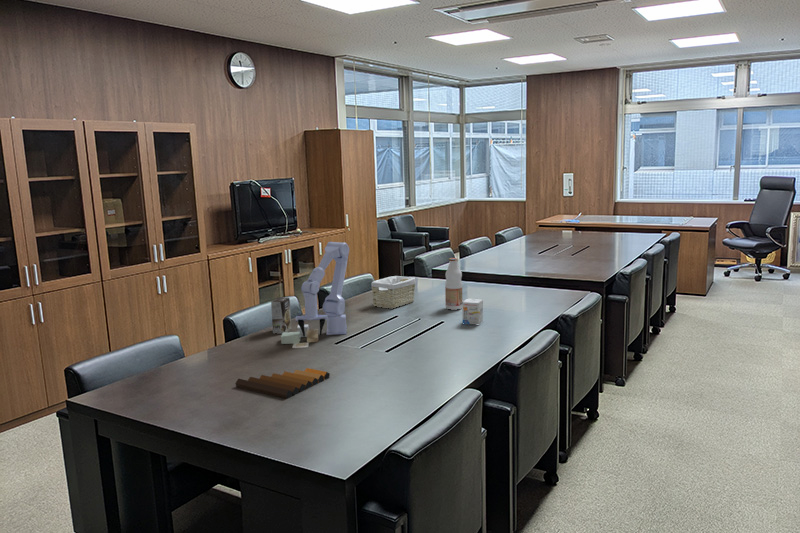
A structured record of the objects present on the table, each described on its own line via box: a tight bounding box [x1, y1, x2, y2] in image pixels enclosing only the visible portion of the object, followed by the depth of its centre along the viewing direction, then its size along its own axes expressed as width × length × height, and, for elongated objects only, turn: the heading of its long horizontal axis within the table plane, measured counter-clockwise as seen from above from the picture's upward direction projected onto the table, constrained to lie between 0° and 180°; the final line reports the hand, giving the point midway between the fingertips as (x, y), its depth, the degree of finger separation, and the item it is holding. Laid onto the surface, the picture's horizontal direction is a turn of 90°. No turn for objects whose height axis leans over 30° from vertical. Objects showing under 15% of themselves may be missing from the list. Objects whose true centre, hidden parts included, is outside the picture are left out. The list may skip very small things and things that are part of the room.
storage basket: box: [371, 275, 416, 310], centre depth 355 cm, size 24×16×15 cm
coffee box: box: [270, 297, 292, 335], centre depth 304 cm, size 9×6×16 cm
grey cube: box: [296, 323, 310, 338], centre depth 296 cm, size 5×5×5 cm
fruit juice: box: [444, 257, 463, 311], centre depth 340 cm, size 9×9×28 cm
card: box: [292, 342, 310, 349], centre depth 281 cm, size 7×7×1 cm
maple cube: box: [306, 328, 319, 343], centre depth 287 cm, size 5×5×5 cm
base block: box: [280, 331, 301, 345], centre depth 287 cm, size 8×8×4 cm
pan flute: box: [234, 367, 331, 400], centre depth 234 cm, size 25×3×25 cm
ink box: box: [461, 298, 484, 325], centre depth 311 cm, size 9×8×12 cm
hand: (312, 335), depth 287 cm, fingers open, 7 cm apart
